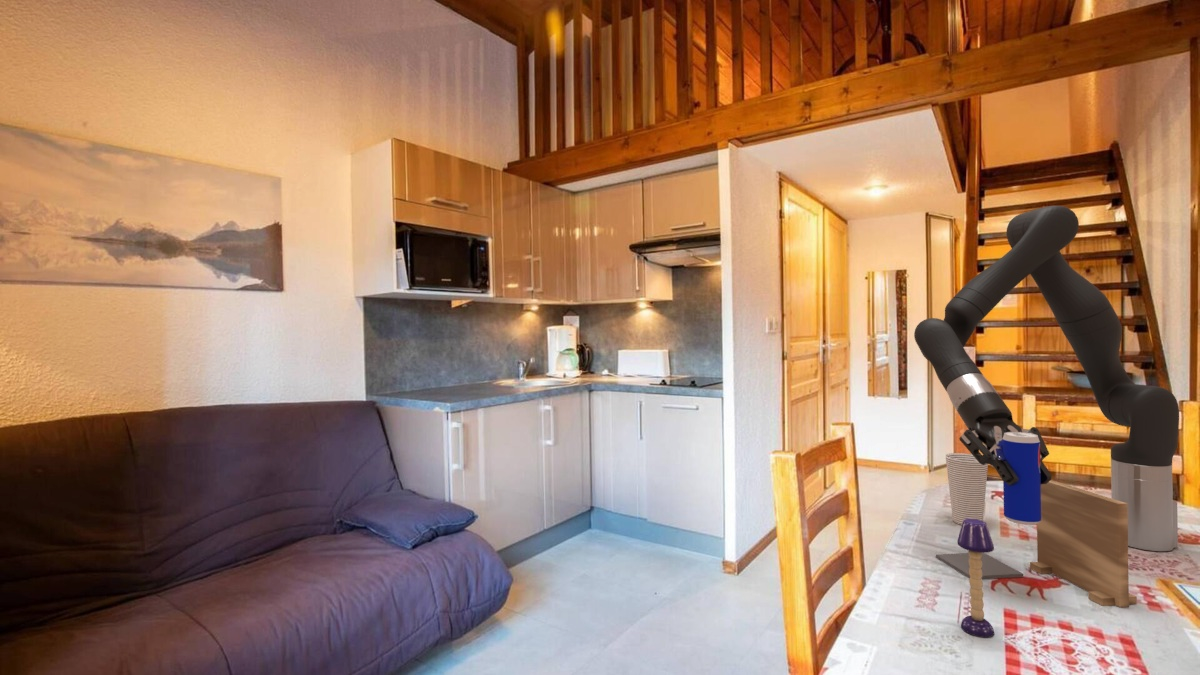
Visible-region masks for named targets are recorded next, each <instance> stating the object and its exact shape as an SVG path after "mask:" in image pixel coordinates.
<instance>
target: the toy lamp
mask: <svg viewBox="0 0 1200 675" xmlns="http://www.w3.org/2000/svg"><path fill="white" fill-rule="evenodd" d="M959 530H960V531H959V534H958V537H957V545H958V546H959V548H962V549H964V550H967V551H968V552H967V553H969V556H970V558H969V565H970V568H969V575H970V578H968V580H969V581H968V583H969V584H968V585H969V586H970V588H969V596H970V599H969V600H970V601H969V603H970V607H971V608H970V615H968V616H965V617H964V618H963V619H962V620H961V622H960V628H961V629H962V630H963V631H964V632H965V633H967V634H969V635H973V636H976V637H982V638H991V637H993V636H994V635H995V630H994V628H993V625H992V624H991V622H990V621H988V620H987V619H986V618H985V613H984V610H983V609H984V606H985V605H984V600H983V598H984V592H983V591H984V590H983V586H984V583H983V579H981V578H982V570H981V567H982V561H981V557H982V552H984V553H991V552H993V551H994V550H995V546H994V542H993V540H992V536H991V534H990V530H989V526H988V525H987V523H986V522H985V521H984V520H983V521H981V520H977V519H965V520H964V521H963V523H962V525H961V527H960V529H959Z"/></svg>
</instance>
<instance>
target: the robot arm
mask: <svg viewBox="0 0 1200 675" xmlns="http://www.w3.org/2000/svg"><path fill="white" fill-rule="evenodd" d="M1079 224H1080V223H1079V219H1078V216H1077V214H1076V213H1075V211H1073V210H1071V208H1069V207H1066V206H1063V205H1049V206H1043V207H1038V208H1036V209H1033V210H1029V211H1026V212H1023V213H1020V214H1018V215H1015V216H1014V217H1013V218H1012V219H1011V220H1010V221H1009V223H1008V225H1007V227H1006V239H1007V241H1008V244H1009V246H1010V250H1009V251H1008V252H1006V253H1005V254H1004V255H1003V256H1002V257H999V259H998V260H996V261H995V262H993V263H992V264H991V265H989V266H988V267H986V268H985V269H983V270H982V271H981V272H979V273H978V274H977V275H975V276H974V277H973V278H972V279H970V280H969V281H967V283H966V284H965V285H964V286H962V288H961V289H960V290H959V291H958V292H957V293H956V294H955V295H954V296H953V297H952V298H951V299H950V300H949V302H947V303H946V305H945V308H944V318H943V319H941V318H938V317H936V318H935V317H934V318H933V317H931V318H925V319H923V320H921V321H920V322H919V323H918V324H917V325H916V327H915V329H914V334H913V337H914V341H915V343H916V344H917V347H918V348H919V350H920V352H921V354H922V356H923V357H924V358H925V359H926V361H928V362H930V363H931V365H932V368H933V370H934V372H935V374H936V376H937V378H938V380H939V382H940V384H941V385H942V387H943V388H944V390H945V391H946V394H947V395H948V397H949V400H950V401H951V404H952V405H953V407H954V409H955V411H956V412H957V413H958V415H959V416H960V418H961V420H962V422H964V425H965V427H966V428H967V429H966V430H964V432H963V433H962V434H961V435H960V437H959V441H960V443H962V445H963V446H965V448H966V449H967V451H968V452H970V454H972V455H973V456H974V457H975V458H976V459H977V461H978V462H979V463H980V464H982V465H985V464H988V465H990V466H991V467H992V468H994V469H995V470H996V472H997V473H998V475H999V477H1000V478H1001V480H1002V481H1004V482H1006V483H1007V485H1009V486H1011V485H1015V484H1016V483H1017V482H1018V481H1019V478H1018V477H1017V475H1016V473H1015V472H1014V470H1013V469H1012V467H1011V466H1010V464H1009V463H1008V461H1004V459H1005V457H1004V453H1003V436H1004V433H1006V432H1024V433H1031V434H1036V435H1038V438H1039V441H1040V477H1041V484H1047V483H1048V482H1049V481H1050V480H1052V473H1051V472H1050V471H1049V468H1048V467H1047V466H1046V464H1045V463H1044V462H1043V460H1044V459H1045V458H1046V457H1048V456H1049V455H1050V452H1049V450H1048V448H1047V445H1046V443H1045V441H1044V439H1043V437H1042V435H1041V432H1040V430H1039V428H1037V427H1035V426H1032V427H1031V428H1030V429H1028V428H1021V426H1020V425H1018V424H1017V423H1016V422H1015V421H1014V418H1013V413H1012V411H1011V410H1010V408H1009V407H1008V405H1007V403H1006V402H1004V400H1003V398H1002V397H1001V396H1000V394H999V393H998V391H997V389H995V387H994V386H993V385H992V383H991V382H990V381H989V380H988V379H987V378H986V377H985V376H984V374H983V373H982V372H981V370H980V368H979V367H978V365H977V364H976V363H975V362H974V361H973V359H972V358H971V357H970V356H969V355H968V353H967V352H966V349H965V348H964V347H965V346H966V344H967V342H968V341H969V340H970V338H971V336H972V335H973V333H974V331H975V329H976V327H977V326H978V324H979V323H981V321H983V320H984V319H985V317H987V315H989V313H990V312H991V311H992V310H993V309H995V307H996V306H997V305H998V304H999V303H1000V302H1001V301H1002V300H1003V299H1004V298H1005V297H1006V296H1007V295H1008V294H1009V293H1010V292H1012V290H1013V289H1014V288H1016V286H1018V284H1020V283H1021V282H1023V280H1024V279H1026V278H1027V277H1028V276H1029V275H1030V276H1031V278H1032V279H1033V281H1034V282H1035V284H1036V286H1037V287H1038V289H1039V291H1040V293H1041V295H1042V296H1043V298H1044V300H1045V301H1046V303H1047V305H1048V307H1049V308H1050V310H1051V312H1052V314H1053V317H1054V318H1055V320H1056V323H1057V324H1058V326H1059V327H1060V330H1061V331H1062V333H1063V335H1064V336H1065V338H1066V340H1067V342H1068V343H1069V345H1070V346H1071V348H1072V350H1073V352H1074V354H1075V356H1076V358H1077V359H1078V361H1079V363H1080V365H1081V368H1082V369H1083V372H1084V373H1085V375H1086V377H1087V380H1088V383H1089V385H1090V388H1091V391H1092V393H1093V396H1094V398H1095V401H1096V403H1097V405H1098V408H1099V409H1100V411H1101V413H1102V415H1103V416H1104V417H1105V418H1106V419H1107V420H1108V421H1109V422H1111V423H1113V424H1115V425H1118V426H1121V427H1126V428H1127V427H1128V428H1129V435H1128V438H1127V440H1126V441H1124V442H1120V443H1115V444H1113V445H1111V448H1110V482H1111V484H1110V486H1111V491H1110V492H1111V495H1110V496H1111V497H1110V498H1111V499H1115V500H1118V501H1121V502H1124V503H1127V507H1128V547H1131V548H1135V549H1138V550H1139V549H1140V550H1145V551H1151V552H1153V551H1154V552H1170V551H1172V550H1174V548H1179V540H1178V538H1179V537H1178V534H1179V533H1178V531H1179V527H1178V501H1176V500H1174V499H1173V497H1174V495H1173V486H1174V485H1173V458H1174V455H1175V454H1176V451H1177V449H1178V445H1179V444H1178V443H1179V428H1180V407H1179V406H1180V405H1179V403H1178V400H1177V398H1176V396H1175V395H1174V394H1173V392H1171V391H1170V390H1168V389H1167V388H1164V387H1162V386H1155V385H1145V384H1135V383H1134V382H1133V380H1132V379H1131V378H1130V377H1129V375H1128V373H1127V372H1126V369H1125V368H1124V366H1123V364H1122V362H1121V357H1120V348H1121V344H1122V343H1121V342H1122V336H1123V328H1122V323H1121V320H1120V319H1119V316H1118V314H1117V313H1116V311H1115V309H1114V307H1113V306H1112V304H1111V302H1110V301H1109V300H1110V299H1108V297H1107V296H1106V294H1104V293H1103V292H1102V291H1101V290H1100V289H1099V288H1098V287H1096V285H1094V284H1093V283H1092V282H1090V281H1089V280H1087V278H1085V277H1084V276H1083V275H1081V274H1080V273H1078V272H1077V271H1076V270H1075V269H1073V268H1072V267H1071V265H1070V264H1069V263H1068V262H1067V260H1066V259H1065V257H1064V256H1063V254H1062V253H1061V250H1063V249H1064V248H1065V247H1067V246H1068V245H1069V244H1070V243H1072V241H1073V240H1074V239H1075V237H1076V236H1077V234H1078V232H1079V228H1080V227H1079V226H1080V225H1079Z"/></svg>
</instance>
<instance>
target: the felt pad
mask: <svg viewBox="0 0 1200 675" xmlns="http://www.w3.org/2000/svg"><path fill="white" fill-rule="evenodd" d="M935 558H936V559H937V560H939V561H941V562H942V563H944V564H946V565H947V566H949V567H950V568H952V569H954V570H955V571H956V572H958V573H960V574H962V575H963V576H965V577H966V578H968V579H970V575H969V568H970V565H969V558H970V556H969V553H968V552H963V553H962V552H959V553H940V554H939V553H938V554H935ZM981 561H982V567H981V570H982V578H981V579H982V580H988V579H1009V578H1024V576H1025V575H1024V573H1023V572H1021V571H1019V570H1018V569H1016V568H1014V567H1012V566H1010V565H1008V564H1006V563H1005V562H1002V561H1000V560H999V559H997V558H995V557H993V556H992V555H990V554H988V553H987V552H985V553H984V552H982V557H981Z"/></svg>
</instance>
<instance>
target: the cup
mask: <svg viewBox="0 0 1200 675" xmlns="http://www.w3.org/2000/svg"><path fill="white" fill-rule="evenodd" d="M945 464H946V470H947V480H948V489H949V497H950V508H951V515H952V516H951V517H952V522H954V523H956V524H958V525H961V526H962V523H963V521H964V520H965V519H977V520H981V521H984V516H985V504H986V495H987V494H986V493H987V492H986V491H987V490H986V489H987V481H988V480H987V477H988V468H989V464H985V465H982V464H980V463H979V462H978V461H977V459H976V458H975V457H974V456H973V455H972V454H971V453H964V452H962V453H961V452H959V453H958V452H954V453H952V452H951V453H947V454H945Z"/></svg>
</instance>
